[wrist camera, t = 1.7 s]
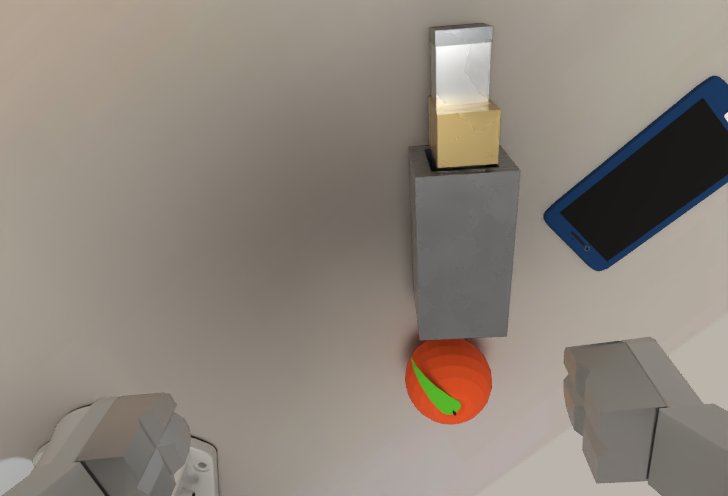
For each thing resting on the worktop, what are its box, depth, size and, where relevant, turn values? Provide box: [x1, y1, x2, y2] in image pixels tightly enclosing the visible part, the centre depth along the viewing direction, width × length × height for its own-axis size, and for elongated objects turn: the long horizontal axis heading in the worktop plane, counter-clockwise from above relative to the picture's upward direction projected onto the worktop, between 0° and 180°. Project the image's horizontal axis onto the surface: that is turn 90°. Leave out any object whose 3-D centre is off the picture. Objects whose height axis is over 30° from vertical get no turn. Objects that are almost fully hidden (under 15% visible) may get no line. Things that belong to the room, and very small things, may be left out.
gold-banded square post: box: [428, 23, 501, 172], centre depth 30 cm, size 19×3×5 cm, turn 5°
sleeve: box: [409, 145, 520, 340], centre depth 33 cm, size 12×6×6 cm, turn 5°
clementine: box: [405, 339, 492, 424], centre depth 38 cm, size 8×7×7 cm
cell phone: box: [544, 76, 728, 271], centre depth 34 cm, size 7×14×1 cm, turn 137°
